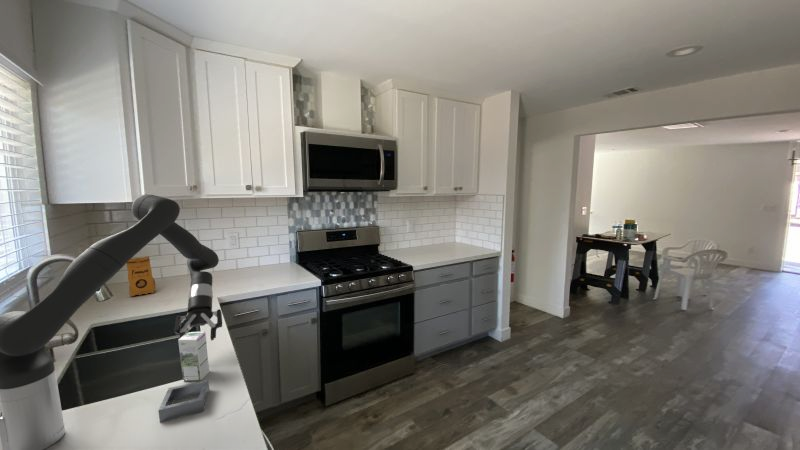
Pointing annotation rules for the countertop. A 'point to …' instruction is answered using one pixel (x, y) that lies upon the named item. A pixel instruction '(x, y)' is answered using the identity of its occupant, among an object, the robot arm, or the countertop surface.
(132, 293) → the coffee package
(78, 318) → the countertop surface
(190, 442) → the countertop surface
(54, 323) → the robot arm
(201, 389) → the gray square tray
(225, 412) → the countertop surface
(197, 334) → the syrup box
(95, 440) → the countertop surface
